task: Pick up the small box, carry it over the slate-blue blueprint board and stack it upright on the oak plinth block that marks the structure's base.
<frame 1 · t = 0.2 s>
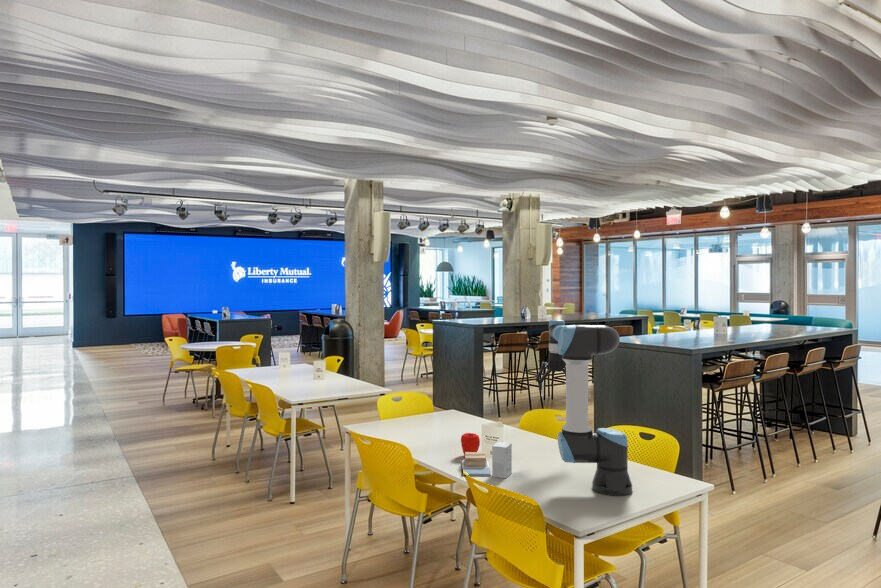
hand: (556, 396, 279), 28 cm above the table, fingers open, 13 cm apart
board: (475, 468, 257), on the table
plinth: (475, 463, 261), point 1 cm above the table, touching board
small box: (502, 475, 248), on the table
apple: (470, 456, 277), on the table
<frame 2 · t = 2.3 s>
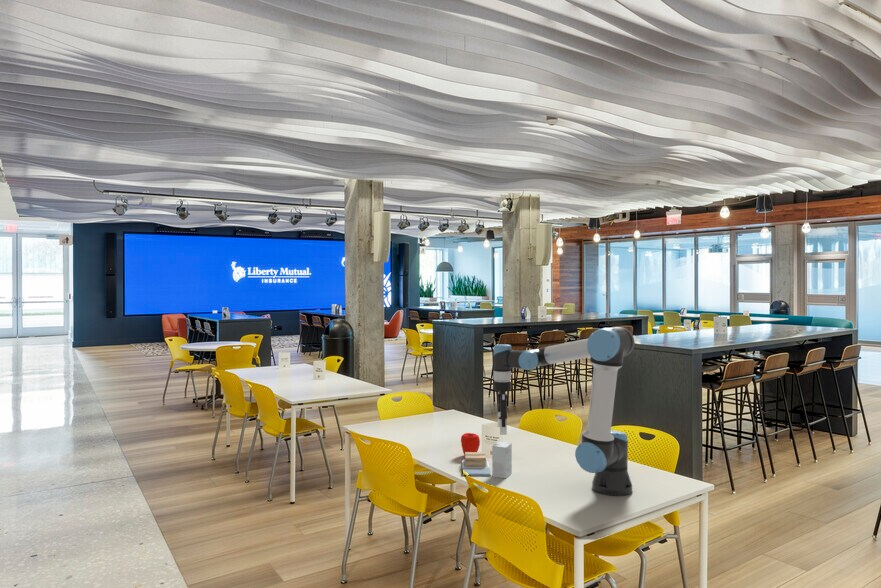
hand: (502, 430, 248), 19 cm above the table, fingers open, 13 cm apart
nothing on the table moved.
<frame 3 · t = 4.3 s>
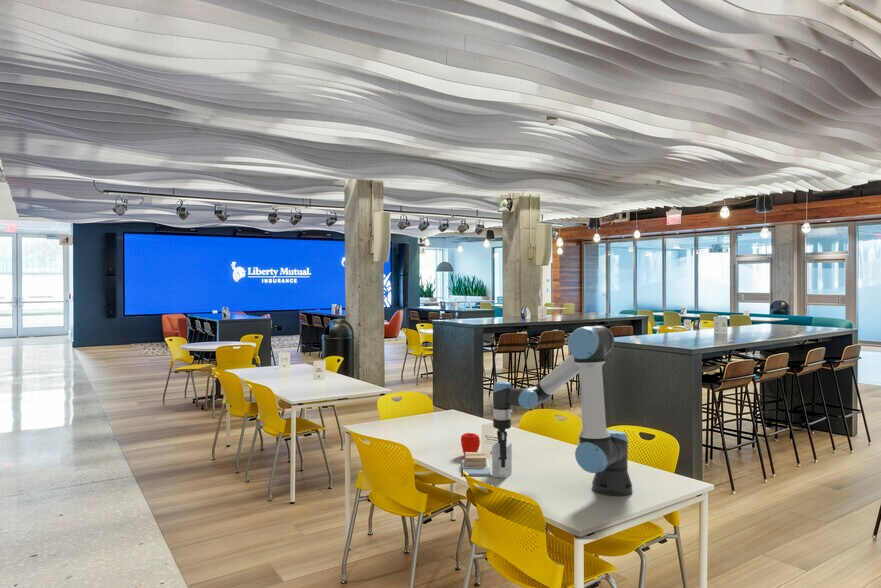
hand: (502, 470, 248), 2 cm above the table, fingers closed on small box, 10 cm apart
small box: (502, 475, 248), on the table, touching gripper
everything else where it was.
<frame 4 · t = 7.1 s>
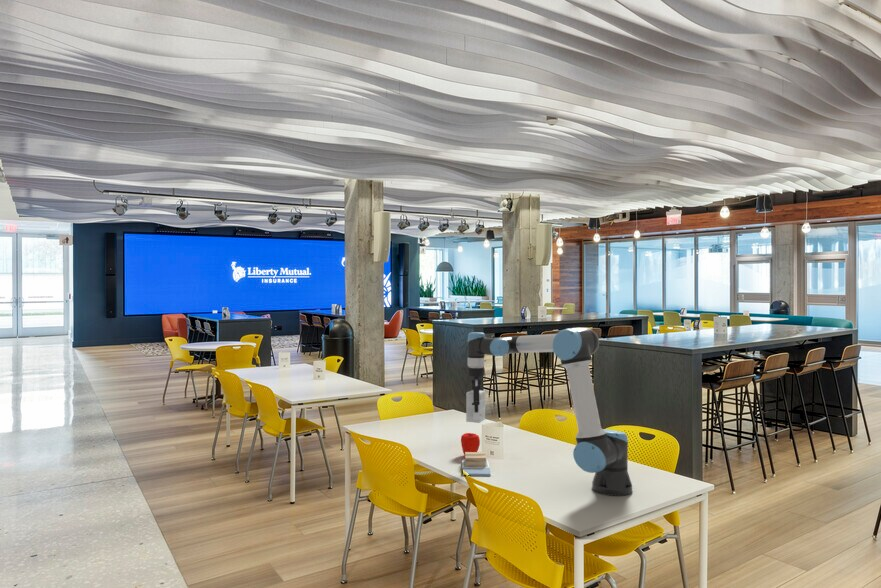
hand: (475, 416, 260), 22 cm above the table, fingers closed on small box, 10 cm apart
small box: (475, 421, 260), point 20 cm above the table, touching gripper
everything else where it was.
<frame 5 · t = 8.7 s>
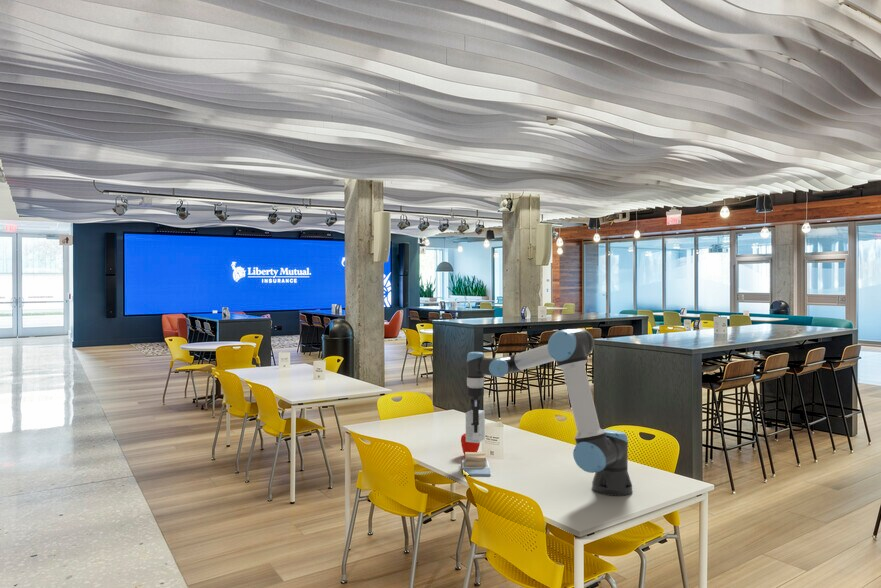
hand: (475, 436, 261), 13 cm above the table, fingers closed on small box, 10 cm apart
small box: (475, 440, 261), point 11 cm above the table, touching gripper
everything else where it was.
when the fingers open (8 cm above the table, at t = 10.2 s): small box drops 1 cm, resting on plinth.
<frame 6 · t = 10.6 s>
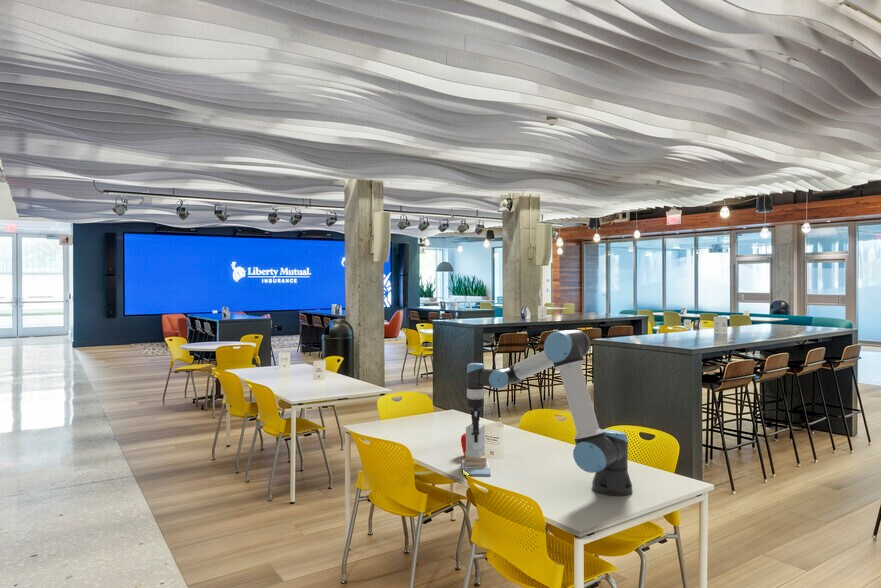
hand: (475, 445, 261), 9 cm above the table, fingers open, 13 cm apart
plinth: (475, 463, 261), point 1 cm above the table, touching board, small box
small box: (475, 455, 261), point 5 cm above the table, touching plinth
everything else where it was.
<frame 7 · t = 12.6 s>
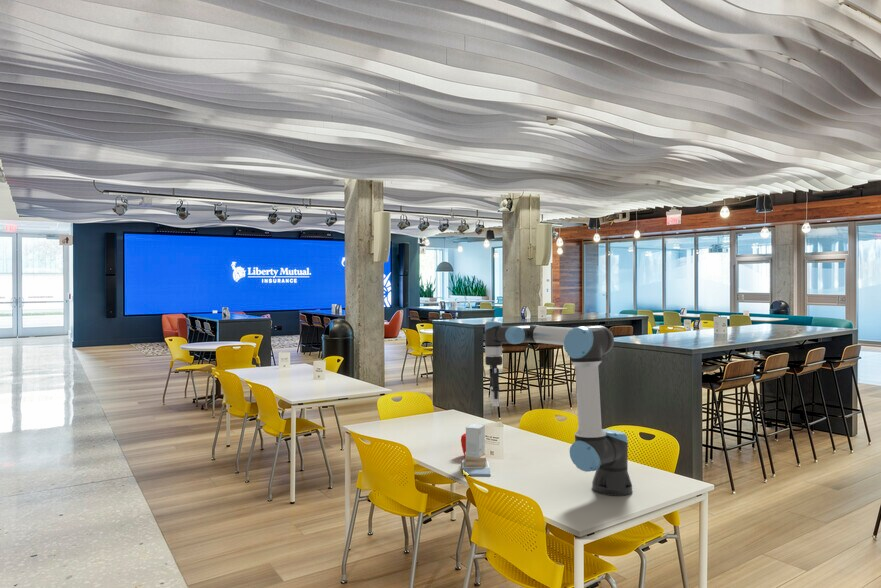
hand: (494, 403, 260), 28 cm above the table, fingers open, 13 cm apart
nothing on the table moved.
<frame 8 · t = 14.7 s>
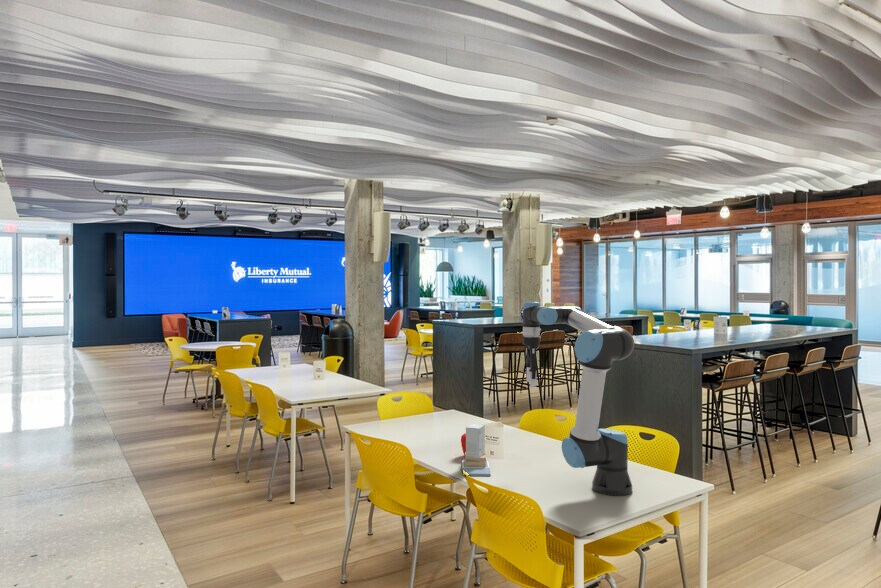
hand: (531, 384, 261), 37 cm above the table, fingers open, 13 cm apart
nothing on the table moved.
at the end: small box inside the target area on the plinth (0.1 cm from its centre), point 3.8 cm above the plinth's base; small box tilted 0°; the gripper is holding nothing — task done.
